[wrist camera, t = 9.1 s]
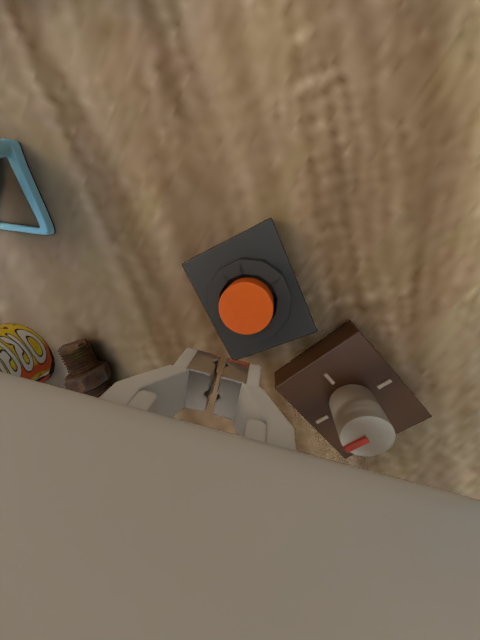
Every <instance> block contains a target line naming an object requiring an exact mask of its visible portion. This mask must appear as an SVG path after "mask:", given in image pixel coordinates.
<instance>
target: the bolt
mask: <svg viewBox="0 0 480 640" xmlns="http://www.w3.org/2000/svg"><path fill="white" fill-rule="evenodd" d="M92 350H93V348H91V346H90V343H89V341H87V340H86V339H83V340H78V341H75V342H72V343H69V344H65V345H63V346H61V348H59V350H58V352H60V353H59V355H61V356H60V357H63V358H62V360H64V361H63V362H65V364H64V365H66V367H67V370H69V371H68V372H69V373H70V374H69V375H68V376H67V377H66V378H65V381H64V386H65V388H66V389H67V390H71V391H75V392H78V393H82V394H86V395H90V396H93V397H97V398H99V397H100V396H101V395H102V394H103V393H104V392H106V391H107V390H108V389H109V388H110V387H111V386H110V384H109V382H108V381H107V380H108V379H109V378H110V376H111V369H110V367H109V364H108V362H104V361H98V360H97V358H96V356H95V353H94V351H92Z"/></svg>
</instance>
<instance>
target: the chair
mask: <svg viewBox="0 0 480 640" xmlns="http://www.w3.org/2000/svg"><path fill="white" fill-rule="evenodd" d="M3 157H7V158H8V161H9V163H10V165H11V167H12V169H13V171H14V174H15V176H16V178H17V180H18V182H19V184H20V186H21V188H22V190H23V192H24V194H25V196H26V198H27V200H28V202H29V204H30V206H31V208H32V210H33V212H34V214H35V216H36V218H37V221H38V223H39V225H40V227H33V226H25V225H17V224H10V223H2V222H0V229H4V230H11V231H19V232H27V233H35V234H42V235H50V234H54V232H55V231H54V227H53V224H52V221H51V219H50V217H49V214H48V212H47V210H46V207H45V205H44V203H43V200H42V198H41V196H40V194H39V191H38V189H37V187H36V185H35V182H34V180H33V178H32V175H31V173H30V171H29V168H28V166H27V163H26V161H25V158H24V155H23V153H22V150H21V147H20V145H19V143H18V142H17V141H15V140H11V139H7V138H4V139H0V158H3Z"/></svg>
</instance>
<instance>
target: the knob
mask: <svg viewBox="0 0 480 640" xmlns="http://www.w3.org/2000/svg"><path fill="white" fill-rule="evenodd" d="M329 407H330V410H331V413H332V417H333V420H334V423H335V426H336V430H337V433H338V436H339V439H340V442H341V444H342V446H343V447H344V450H345V451H346V452H347V453H349V452H351V453H353V454H355V455H359V456H375V455H379V454H381V453H384V452H385V451H387V450H388V449H389V448H390V447H391V446H392V445H393V443H394V441H395V436H396V434H395V430H394V428H393V426H392V424H391V423H390V421H389V419H388V418H387V416H386V414H385V413H384V411H383V410H382V408H381V406H380V405H379V403H378V401H377V400H376V398H375V396H374V395H373V393H372V392H371V391H370V390H369V389H368V388H366V387H364V386H361V385H356V384H350V385H345V386H342V387H340V388H338V389H336V390H335V391H334V392H333V393H332V395H331V397H330V399H329Z"/></svg>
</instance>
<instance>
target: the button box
mask: <svg viewBox="0 0 480 640" xmlns="http://www.w3.org/2000/svg"><path fill="white" fill-rule="evenodd" d="M182 266H183V268H184V270H185V272H186V274H187V276H188V278H189V279H190V281H191V283H192V285H193V287H194V289H195V291H196V293H197V294H198V296H199V298H200V300H201V302H202V304H203V306H204V308H205V310H206V311H207V313H208V315H209V317H210V319H211V321H212V323H213V325H214V326H215V328H216V330H217V332H218V334H219V336H220V338H221V340H222V342H223V343H224V345H225V347H226V349H227V351H228V353H229V355H230V357H231V358H232V359H234V360H238V359H241V358H244V357H247V356H250V355H252V354H255V353H258V352H261V351H264V350H266V349H269V348H272V347H275V346H278V345H280V344H283V343H286V342H289V341H292V340H294V339H297V338H300V337H303V336H306V335H308V334H311V333H314V332H317V329H316V327H315V324H314V322H313V319H312V317H311V314H310V312H309V309H308V307H307V304H306V302H305V299H304V297H303V295H302V292H301V290H300V287H299V285H298V282H297V280H296V277H295V275H294V272H293V270H292V267H291V265H290V262H289V260H288V257H287V255H286V252H285V250H284V247H283V245H282V243H281V240H280V238H279V235H278V233H277V230H276V228H275V225H274V223H273V220H272V218H269V219H267V220H265V221H263V222H261V223H260V224H258V225H256V226H254V227H252V228H250V229H248V230H246V231H244V232H242V233H240V234H238V235H236V236H234V237H232V238H230V239H229V240H227V241H225V242H223V243H221V244H219V245H217V246H215V247H213V248H211V249H209V250H207V251H205V252H203V253H201V254H199V255H198V256H196V257H194V258H192V259H190V260H188V261H186V262H184V263H182ZM246 277H250V278H255V279H258V280H260V281H262V282H263V283H264V284H266V285H267V286H268V288H269V289H270V291H271V293H272V295H273V301H274V305H273V316H272V319H271V321H270V322H269V324H268V325H267V326H266V327H265V328H264V329H263V330H261V331H260V332H257V333H254V334H248V335H245V334H239V333H236V332H234V331H232V330H231V329H229V328H228V327H227V326H226V325H225V324H224V323H223V321H222V319H221V317H220V314H219V300H220V298H221V295H222V294H223V292H224V291H225V290H226V289H227V288H228V286H229V285H230V284H231V283H233V282H234V281H236V280H238V279H240V278H246Z"/></svg>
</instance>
